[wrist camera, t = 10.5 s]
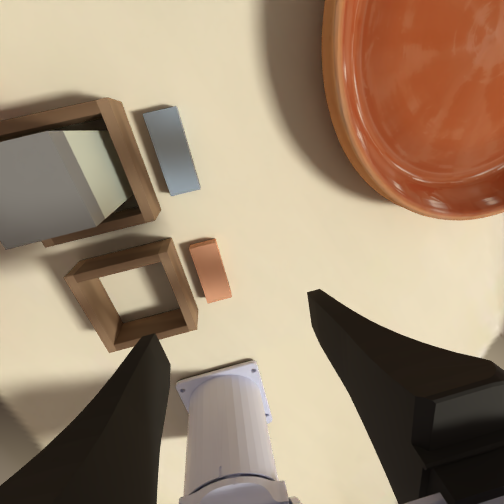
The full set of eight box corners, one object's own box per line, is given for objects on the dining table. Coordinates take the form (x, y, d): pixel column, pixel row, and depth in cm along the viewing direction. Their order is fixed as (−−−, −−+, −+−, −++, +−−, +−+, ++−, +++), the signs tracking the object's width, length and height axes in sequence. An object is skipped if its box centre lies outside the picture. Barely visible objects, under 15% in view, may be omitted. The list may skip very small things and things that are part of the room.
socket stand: (233, 300, 23) (236, 318, 21) (119, 330, 23) (109, 352, 20) (172, 90, 16) (166, 84, 14) (5, 127, 16) (-28, 127, 13)
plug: (134, 193, 18) (96, 226, 12) (75, 208, 18) (6, 249, 12) (108, 130, 17) (47, 130, 10) (42, 146, 16) (-60, 156, 10)
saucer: (606, -446, 11) (777, -691, 8) (664, 47, 20) (756, 31, 17) (231, 28, 16) (237, 1, 12) (414, 258, 25) (447, 278, 21)
